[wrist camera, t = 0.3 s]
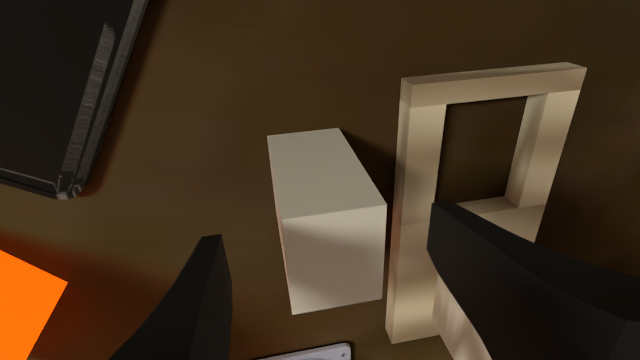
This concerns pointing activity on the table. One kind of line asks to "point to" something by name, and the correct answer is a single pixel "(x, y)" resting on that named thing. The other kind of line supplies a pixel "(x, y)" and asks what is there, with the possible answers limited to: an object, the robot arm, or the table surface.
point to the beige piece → (507, 211)
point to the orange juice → (24, 305)
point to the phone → (60, 87)
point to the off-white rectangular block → (327, 221)
